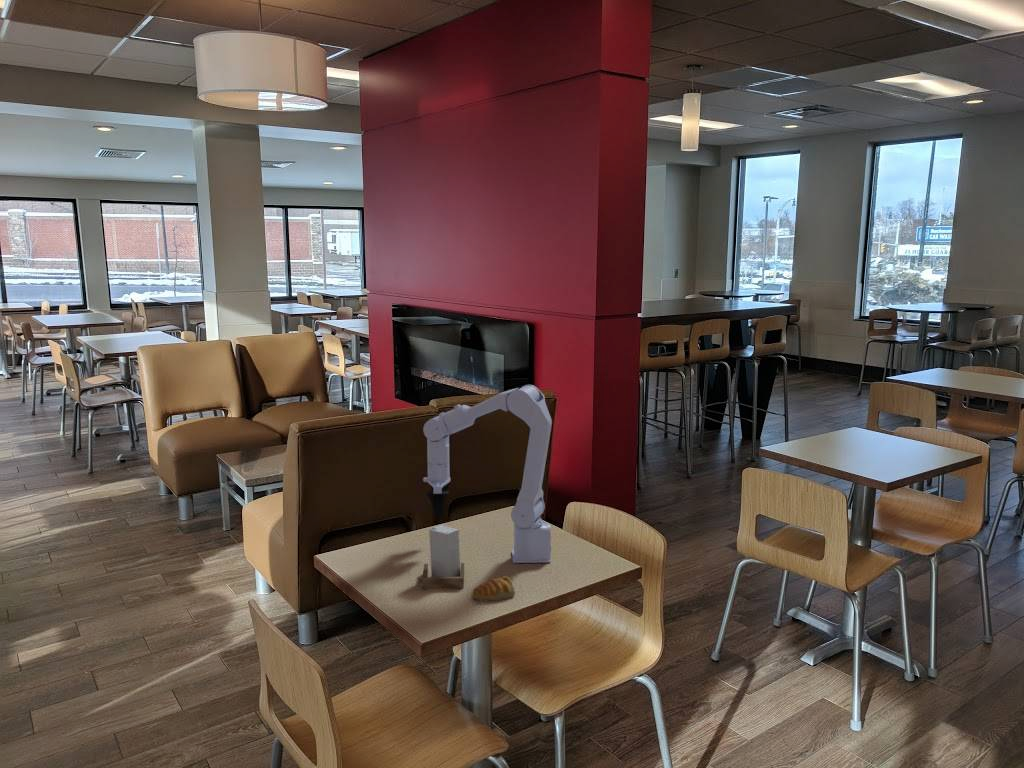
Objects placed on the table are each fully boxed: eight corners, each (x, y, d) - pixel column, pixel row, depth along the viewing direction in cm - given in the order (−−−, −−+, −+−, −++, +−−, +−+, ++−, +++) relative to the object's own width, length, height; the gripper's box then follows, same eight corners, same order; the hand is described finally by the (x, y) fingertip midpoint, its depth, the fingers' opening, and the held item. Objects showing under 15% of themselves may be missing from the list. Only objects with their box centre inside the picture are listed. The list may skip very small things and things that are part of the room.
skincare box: (461, 577, 178) (460, 528, 176) (448, 583, 175) (448, 534, 173) (441, 571, 182) (441, 523, 180) (429, 577, 178) (428, 528, 176)
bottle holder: (464, 572, 181) (464, 563, 180) (463, 588, 172) (463, 578, 172) (424, 573, 180) (424, 563, 180) (422, 589, 172) (421, 578, 171)
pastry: (481, 606, 163) (480, 590, 163) (467, 595, 169) (467, 579, 169) (517, 597, 168) (517, 581, 168) (503, 586, 174) (503, 571, 173)
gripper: (424, 455, 202) (425, 503, 204) (421, 469, 187) (422, 521, 189) (451, 455, 202) (451, 503, 204) (449, 469, 188) (449, 520, 190)
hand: (439, 511), depth 197 cm, fingers open, 7 cm apart
